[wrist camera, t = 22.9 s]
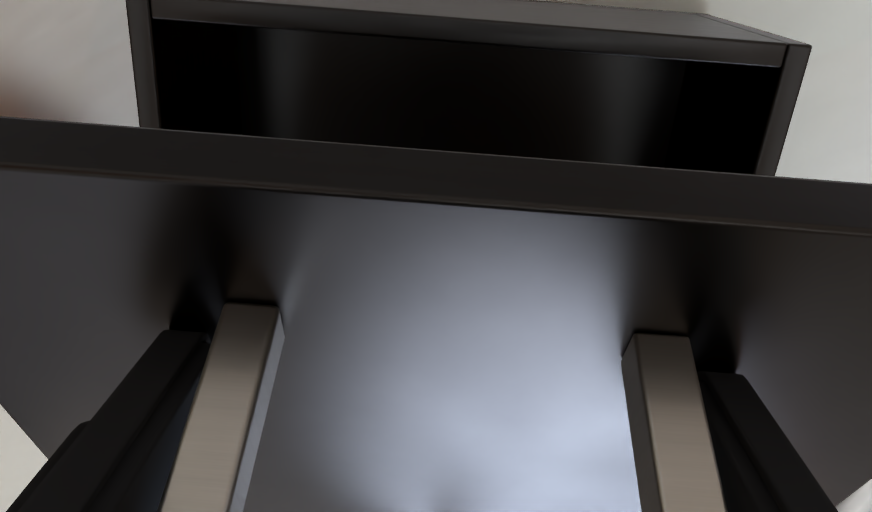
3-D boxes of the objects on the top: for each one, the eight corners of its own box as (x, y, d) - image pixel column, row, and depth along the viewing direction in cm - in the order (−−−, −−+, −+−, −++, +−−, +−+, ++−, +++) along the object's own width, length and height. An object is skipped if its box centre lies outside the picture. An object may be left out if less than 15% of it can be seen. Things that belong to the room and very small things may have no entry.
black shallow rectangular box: (223, -24, 20) (123, -9, 14) (707, 14, 20) (813, 45, 14) (248, 444, 27) (189, 585, 21) (605, 471, 27) (647, 620, 21)
